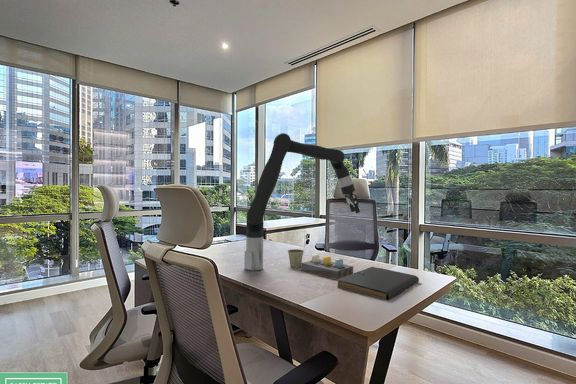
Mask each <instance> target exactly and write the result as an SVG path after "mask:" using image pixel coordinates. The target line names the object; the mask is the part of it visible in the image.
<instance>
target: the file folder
mask: <svg viewBox="0 0 576 384" xmlns="http://www.w3.org/2000/svg"><path fill="white" fill-rule="evenodd" d="M419 282H420V279H419V277H418V276H417V275H414V274H409V273H405V272H401V271H395V270H392V269H386V268H382V267H376V266H369V267H367V268H365V269H364V268H363V269H362V270H359V271H356V272H353V274H351V275H348V276H346V277H343V278H340V279H338V280H337V288H340V289H343V290H347V291H351V292H354V293H358V294H362V295H363V294H364V295H367V296H371V297H375V298H377V299H382V300H385V301H386V300H387V301H389V300H391V299H392V298H394V297H395V296H398V295H399V294H401V293H402V292H404V291H405V289H406V290H407V289H409V288H411V287H413V286H414V285H416V284H417V283H419ZM415 283H416V284H415ZM410 286H411V287H410Z"/></svg>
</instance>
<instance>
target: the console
mask: <svg viewBox="0 0 576 384" xmlns="http://www.w3.org/2000/svg"><path fill="white" fill-rule="evenodd" d="M300 268H301V270H300V271H302V272H305V273H309V274H313V275H318V276H321V277H327V278H331V279H334V280H336V281H338V279H340V278H343V277H346V276H348V275H351V274H354V266H353V265H350V264H349V265H348V264H345V263H343V268H342V269H338V268H335V261H331V266H324V265H323V259H320V258H319V263H317V264H315V263H312V259H311V260H307V261H305V262H302V263H301V267H300Z"/></svg>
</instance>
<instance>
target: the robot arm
mask: <svg viewBox="0 0 576 384" xmlns="http://www.w3.org/2000/svg"><path fill="white" fill-rule="evenodd" d="M287 153H292V154H293V153H294V154H299V155H303V156H307V157H310V158H312V159H313V158H314V159H318V160H321V161H323V160H324V161H325V160H326V161H329V162H330V163H331V166H332V169H333V170H334V172H335V175H336V179H337V181H338V185H339V189H340V191H341V194H342V196H344V199H345V201H346V204H347V205H348V207H349V209H350V212H351V213H353V212H355V214H359V213H360V208H359V206H360V203H359V201H358V198H357V194H354V192H355V191H356V188H355V186H354V185H355V184H354V182H353V179H352V177H351V175H350V171H349V168H348V167H347V166H346V165H345V164H344V160H345V157H346V156H345V153H344V152H343V151H342V150H340V149H336V148H328V147H324V146H322V145H319V144H318V145H317V144H312V143H303V142H298V141H294V140H292V139H291V137H290V135H289V134H288V133H285V132H283V133H279V134H277V135H276V136H275V138H274V139H273V146H272V149H271V153H270V156H269V157H268V160H267V162H266V163H265V166H264V167H263V170H262V172H261V174H260V177H259V180H258V183H257V186H256V187H257V188H256V192H255V196H254V198H253V201H252V203H251V205H250V207H249V209H248V210H247V211H246V229H245V230H246V234H245V239H246V241H245V242H246V243H245V251H244V264H243V265H244V269H245V270H248V271H252V272H253V271H261V270H263V269H264V218H265V213H266V211H267V210H266V209H267V205H268V202H269V200H270V198H271V196H272V195H273V192H274V190H275V187H276V185H277V182H278V179H279V176H280V173H281V171H282V166H283V163H284V159H285V157H286V155H287Z"/></svg>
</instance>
